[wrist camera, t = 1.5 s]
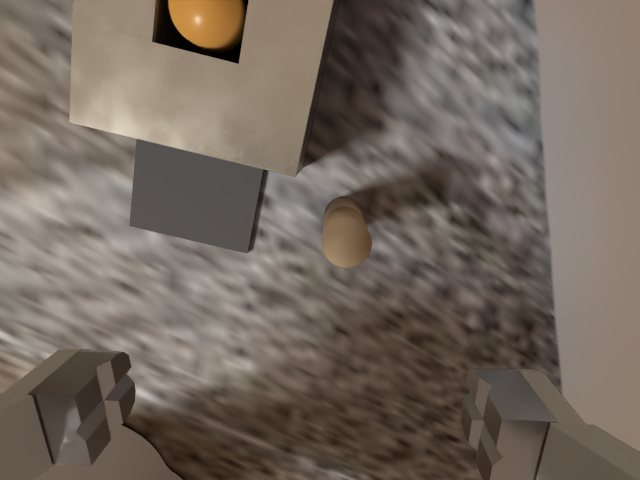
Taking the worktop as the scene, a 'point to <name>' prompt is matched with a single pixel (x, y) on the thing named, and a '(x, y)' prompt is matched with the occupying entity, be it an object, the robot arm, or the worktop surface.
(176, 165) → the mat
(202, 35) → the orange rounded dome
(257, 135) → the grey box with hole
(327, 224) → the tan rounded peg
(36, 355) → the worktop surface
